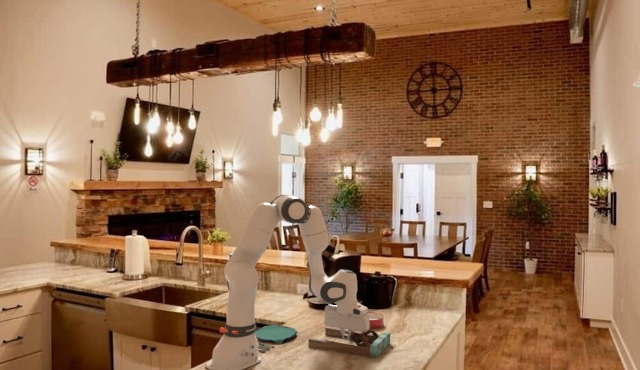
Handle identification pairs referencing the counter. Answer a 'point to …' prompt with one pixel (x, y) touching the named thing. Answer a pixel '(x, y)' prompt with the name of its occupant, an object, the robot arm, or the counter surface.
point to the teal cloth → (274, 334)
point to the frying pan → (375, 320)
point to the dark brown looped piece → (363, 337)
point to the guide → (371, 352)
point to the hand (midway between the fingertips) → (346, 338)
